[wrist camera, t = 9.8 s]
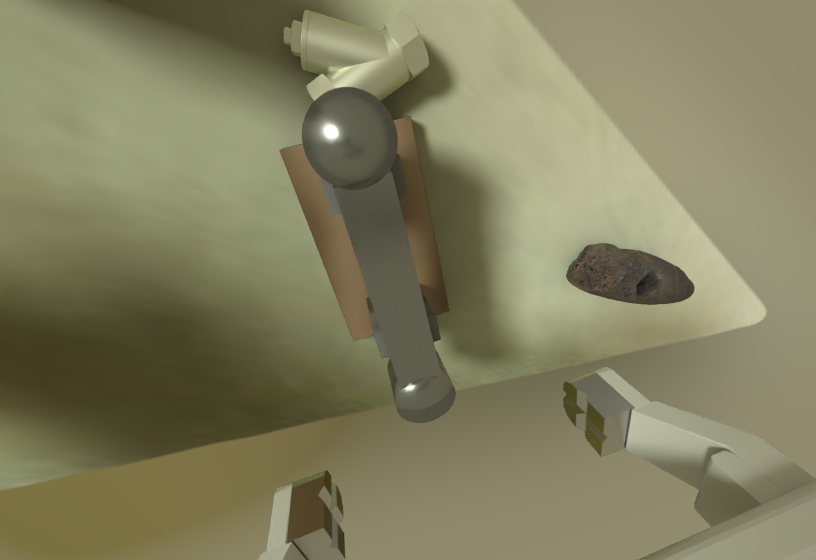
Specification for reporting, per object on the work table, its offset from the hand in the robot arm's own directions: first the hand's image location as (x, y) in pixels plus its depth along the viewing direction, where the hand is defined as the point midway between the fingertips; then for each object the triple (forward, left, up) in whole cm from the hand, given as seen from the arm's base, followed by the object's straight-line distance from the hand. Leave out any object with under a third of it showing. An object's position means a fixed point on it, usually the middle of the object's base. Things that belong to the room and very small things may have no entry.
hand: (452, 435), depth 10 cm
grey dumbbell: (0, 0, -14) cm, 14 cm away
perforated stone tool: (+25, -11, -22) cm, 35 cm away
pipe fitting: (+2, +13, -22) cm, 26 cm away
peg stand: (0, 0, -21) cm, 21 cm away
